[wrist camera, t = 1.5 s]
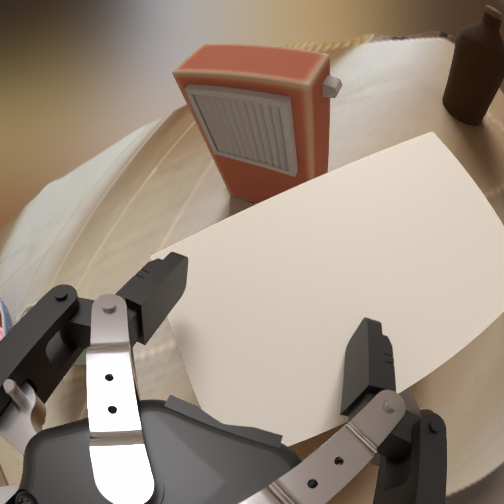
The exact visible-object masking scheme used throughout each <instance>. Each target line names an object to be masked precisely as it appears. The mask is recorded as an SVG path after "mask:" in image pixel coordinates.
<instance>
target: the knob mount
mask: <svg viewBox="0 0 504 504" xmlns="http://www.w3.org/2000/svg"><path fill="white" fill-rule="evenodd" d="M170 252H175V253H178V254H181V255H184V256H186V257H188V272H187V283H186V288H185V291H184V293H183V295H182V297H181V298H180V300H179V301H178V302H177V303H176V305H175V306H174V307H173V309H172V310H171V311H170V313H169V314H168V315H167V317H168V320H169V323H170V326H171V329H172V332H173V335H174V338H175V341H176V344H177V347H178V350H179V352H180V355H181V358H182V361H183V364H184V366H185V369H186V372H187V374H188V377H189V380H190V382H191V385H192V387H193V390H194V392H195V395H196V397H197V400H198V402H199V404H200V407H201V409H202V410H203V411H204V412H206V413H207V414H209V415H210V416H212V417H213V418H215V419H216V420H218V421H219V422H221V423H223V424H227V425H236V426H246V427H255V428H259V429H262V430H265V431H269V432H272V433H276V434H279V435H283V437H282V440H281V443H283V444H284V445H286V446H287V447H288V446H291V445H294V444H296V443H299V442H301V441H304V440H306V439H309V438H311V437H314V436H316V435H319V434H321V433H323V432H326V431H328V430H330V429H332V428H335V427H337V426H339V425H341V424H343V423H345V422H347V421H348V416H344V415H340V410H341V401H342V390H343V378H344V365H345V351H346V347H347V345H348V342H349V340H350V339H351V337H352V336H353V334H354V332H355V331H356V329H357V328H358V326H359V324H360V323H361V321H362V320H363V318H365V317H366V318H370V319H373V320H376V321H379V322H381V324H382V334H383V335H385V336H388V338H389V340H390V342H391V344H392V347H393V357H394V368H395V381H396V393H398V394H399V393H400V392H402V391H403V390H405V389H407V388H408V387H410V386H411V385H413V384H414V383H416V382H417V381H419V380H420V379H422V378H423V377H425V376H426V375H428V374H429V373H431V372H432V371H434V370H435V369H436V368H438V367H439V366H440V365H442V364H443V363H444V362H446V361H447V360H448V359H450V358H451V357H452V356H454V355H455V354H456V353H457V352H459V351H460V350H461V349H462V348H464V347H465V346H466V345H467V344H469V343H470V342H471V341H472V340H473V339H474V338H476V337H477V336H478V335H479V334H480V333H481V332H482V331H484V330H485V329H486V328H487V327H488V326H489V325H490V324H491V323H492V322H493V321H494V320H495V319H496V318H498V317H499V316H500V315H501V314H502V313H503V312H504V226H503V224H502V222H501V221H500V219H499V217H498V216H497V214H496V213H495V211H494V209H493V208H492V206H491V205H490V203H489V202H488V200H487V199H486V197H485V196H484V195H483V193H482V192H481V190H480V189H479V187H478V186H477V185H476V183H475V182H474V181H473V179H472V178H471V177H470V175H469V174H468V173H467V171H466V170H465V169H464V168H463V166H462V165H461V164H460V163H459V161H458V160H457V159H456V158H455V156H454V155H453V154H452V153H451V152H450V151H449V149H448V148H447V147H446V146H445V145H444V144H443V143H442V141H441V140H440V139H439V138H438V137H437V136H436V135H435V134H434V133H433V132H429V133H426V134H424V135H421V136H418V137H416V138H413V139H410V140H408V141H405V142H402V143H400V144H397V145H395V146H392V147H390V148H387V149H384V150H382V151H379V152H377V153H374V154H372V155H369V156H367V157H364V158H362V159H359V160H357V161H355V162H352V163H350V164H347V165H345V166H342V167H340V168H338V169H335V170H333V171H331V172H328V173H326V174H324V175H321V176H319V177H317V178H314V179H312V180H310V181H307V182H305V183H303V184H300V185H298V186H296V187H294V188H291V189H289V190H287V191H285V192H282V193H280V194H278V195H276V196H273V197H271V198H269V199H267V200H265V201H262V202H260V203H258V204H256V205H254V206H252V207H249V208H247V209H245V210H243V211H241V212H239V213H237V214H234V215H232V216H230V217H228V218H226V219H224V220H222V221H220V222H218V223H216V224H213V225H211V226H209V227H207V228H205V229H203V230H201V231H199V232H197V233H195V234H193V235H191V236H189V237H187V238H185V239H183V240H181V241H179V242H177V243H175V244H173V245H171V246H169V247H167V248H165V249H163V250H161V251H159V252H157V253H155V254H153V255H151V256H150V258H151V261H153V260H155V259H157V258H159V259H162V260H163V259H164V258H165V257H166V256H167V255H168V254H169V253H170Z"/></svg>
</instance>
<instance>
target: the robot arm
mask: <svg viewBox="0 0 504 504" xmlns="http://www.w3.org/2000/svg"><path fill="white" fill-rule="evenodd" d="M187 272H188V257H186V256H184V255H181V254H178V253H175V252H170V253H169V254H168V255H167V256H166V257H165V258H164V259H163V260H162V259H159V258H157V259H155V260H153V261H150V262H148V263H147V264H146V265H145V266H144V267H143V268H142V269H141V270H140V271H139V272H138V273H137V274H136V275H135V276H133V277H132V278H131V279H130V280H129V281H128V282H127V283H126V284H125V285H124V286H123V287H122V288H121V289H120V290H119V291H118V292H117V293H116V294H115V295H114V294H106V295H103V296H100V297H98V298H97V299H96V300H89V299H84V298H79V297H78V296H77V292H76V290H75V288H74V287H72V286H70V285H58V286H56V287H54V288H52V289H51V290H50V291H49V292H48V293H47V294H46V295H45V296H43V297H42V298H41V299H40V300H39V301H38V302H37V303H36V304H35V305H34V306H33V307H32V308H31V309H30V310H29V311H28V312H27V313H26V314H25V315H24V316H23V317H22V318H21V319H20V320H19V321H18V322H17V324H16V325H15V326H14V327H13V328H12V329H11V330H10V331H9V332H8V333H7V334H6V335H5V336H4V338H3V339H2V340H1V341H0V435H2V436H3V437H4V438H5V439H6V440H7V441H8V442H9V443H10V444H11V445H12V446H13V447H14V448H16V449H17V450H18V451H19V452H20V453H21V454H22V455H23V456H24V461H23V474H22V479H21V483H20V486H19V488H18V490H17V491H16V493H15V494H14V495H13V496H12V497H11V498H10V499H9V500H8V501H7V502H6V503H4V504H325V503H326V502H328V501H329V500H330V499H331V498H332V497H333V496H334V495H336V494H337V493H338V492H339V491H340V490H341V489H342V488H343V487H344V486H345V485H346V484H347V483H349V482H350V481H351V480H352V479H353V478H354V477H355V476H356V475H357V474H358V473H359V472H360V471H361V470H362V468H363V467H364V466H365V465H366V464H367V463H368V462H369V461H370V460H371V459H372V458H373V457H374V456H375V454H376V453H378V454H381V457H380V464H379V471H378V478H377V484H376V490H375V495H374V500H373V504H445V495H446V477H447V440H446V426H445V423H444V421H443V419H442V418H441V417H440V416H439V415H437V414H435V413H427V414H425V415H424V416H422V417H419V416H417V415H415V414H413V413H411V412H410V411H408V410H406V407H405V403H404V400H403V399H402V397H401V396H400V395H399V394H398V393H396V381H395V368H394V357H393V347H392V344H391V342H390V340H389V338H388V336H385V335H383V334H382V324H381V322H379V321H376V320H373V319H370V318H366V317H365V318H363V320H362V321H361V323H360V324H359V326H358V328H357V329H356V331H355V332H354V334H353V336H352V337H351V339H350V340H349V342H348V345H347V347H346V351H345V365H344V378H343V390H342V401H341V410H340V415H344V416H348V422H347V423H346V424H345V425H344V426H343V427H342V428H341V429H340V430H338V431H337V432H336V433H335V434H334V435H333V436H332V437H330V438H329V439H328V440H327V441H326V442H324V443H323V444H322V445H321V446H320V447H318V448H317V449H316V450H315V451H313V452H312V453H311V454H309V455H308V456H307V457H305V458H304V459H303V460H301V459H300V458H299V456H298V455H297V454H296V453H295V452H294V451H293V450H291V449H290V448H289V447H287V446H286V445H284V444H283V443H281V440H282V437H283V435H279V434H276V433H272V432H269V431H265V430H262V429H259V428H255V427H246V426H236V425H227V424H223V423H221V422H219V421H218V420H216V419H215V418H213V417H212V416H210V415H209V414H207V413H206V412H204V411H203V410H201V409H200V408H199V407H197V406H195V405H192V404H190V403H188V402H185V401H183V400H181V399H179V398H176V397H174V396H172V395H170V396H169V398H168V399H167V401H164V400H141V399H140V394H139V389H138V383H137V377H136V370H135V362H134V354H133V346H134V345H135V343H136V342H139V343H141V344H143V345H146V343H147V342H148V341H149V339H150V338H151V337H152V335H153V334H154V333H155V331H156V330H157V329H158V327H159V326H160V325H161V323H162V322H163V321H164V319H165V318H166V317H167V315H168V314H169V313H170V311H171V310H172V309H173V307H174V306H175V305H176V303H177V302H178V301H179V300H180V298H181V297H182V295H183V293H184V291H185V288H186V283H187ZM57 332H58V333H57ZM56 333H57V334H56ZM50 340H51V341H50ZM84 349H87V355H86V366H87V397H88V412H89V417H88V418H85V419H82V420H78V421H75V422H71V423H68V424H64V425H60V426H57V427H53V428H49V429H45V430H42V425H43V424H44V423H45V417H46V407H45V405H44V404H45V403H46V401H47V400H48V398H49V397H50V395H51V394H52V393H53V391H54V390H55V388H56V387H57V386H58V384H59V383H60V381H61V380H62V379H63V377H64V376H65V375H66V373H67V372H68V370H69V369H70V368H71V366H72V365H73V364H74V362H75V361H76V360H77V358H78V357H79V356H80V355H81V353H82V352H83V351H84Z"/></svg>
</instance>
